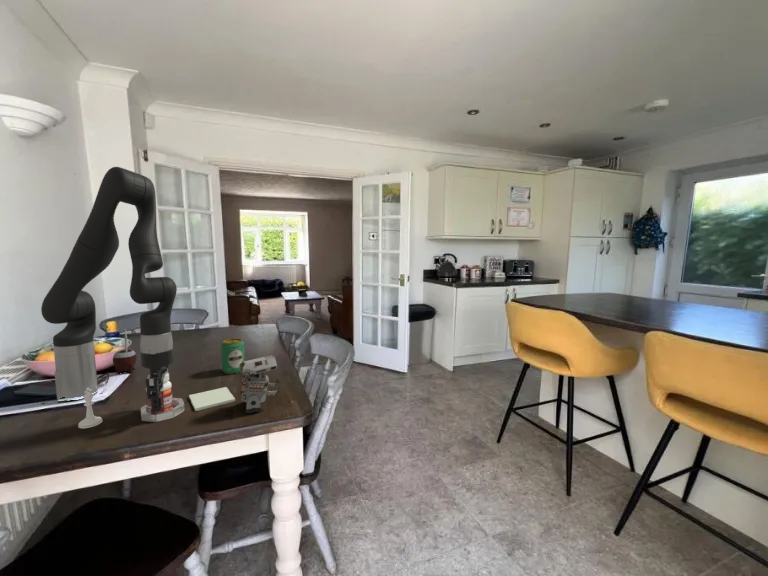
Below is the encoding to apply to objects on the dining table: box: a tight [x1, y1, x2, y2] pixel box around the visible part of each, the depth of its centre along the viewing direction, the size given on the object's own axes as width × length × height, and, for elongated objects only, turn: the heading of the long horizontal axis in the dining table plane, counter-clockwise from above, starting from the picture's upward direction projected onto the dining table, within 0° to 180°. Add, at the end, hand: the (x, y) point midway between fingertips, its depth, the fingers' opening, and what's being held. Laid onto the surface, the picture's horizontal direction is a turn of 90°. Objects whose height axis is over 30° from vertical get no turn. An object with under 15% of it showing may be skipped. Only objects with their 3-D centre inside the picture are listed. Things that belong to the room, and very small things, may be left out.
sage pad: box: [188, 386, 236, 412], centre depth 105 cm, size 11×11×1 cm
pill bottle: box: [145, 372, 174, 413], centre depth 95 cm, size 6×6×11 cm
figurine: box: [239, 354, 281, 414], centre depth 101 cm, size 9×12×15 cm
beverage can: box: [220, 337, 246, 375], centre depth 129 cm, size 8×8×12 cm
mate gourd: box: [112, 329, 138, 375], centre depth 126 cm, size 8×8×15 cm
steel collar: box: [140, 397, 185, 423], centre depth 96 cm, size 10×10×2 cm
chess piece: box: [77, 388, 103, 429], centre depth 89 cm, size 5×5×10 cm
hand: (160, 404), depth 95 cm, fingers closed on pill bottle, 6 cm apart
